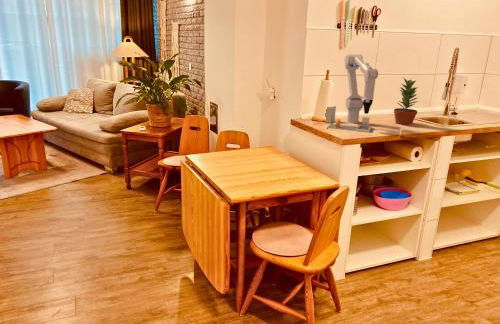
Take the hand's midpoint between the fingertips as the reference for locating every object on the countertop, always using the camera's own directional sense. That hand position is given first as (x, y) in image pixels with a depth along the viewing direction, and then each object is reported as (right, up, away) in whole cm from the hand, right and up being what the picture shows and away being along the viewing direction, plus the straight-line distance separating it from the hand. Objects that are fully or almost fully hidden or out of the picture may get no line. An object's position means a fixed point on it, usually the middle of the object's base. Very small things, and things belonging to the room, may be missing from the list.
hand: (366, 112), depth 234 cm
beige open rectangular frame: (-2, -10, -2) cm, 11 cm away
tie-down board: (-9, -10, +1) cm, 14 cm away
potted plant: (+32, -4, +23) cm, 39 cm away
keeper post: (-17, -9, +4) cm, 20 cm away
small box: (-19, -3, +23) cm, 30 cm away
